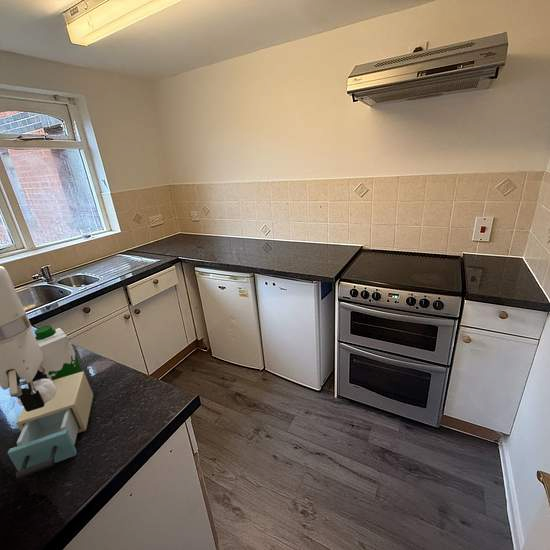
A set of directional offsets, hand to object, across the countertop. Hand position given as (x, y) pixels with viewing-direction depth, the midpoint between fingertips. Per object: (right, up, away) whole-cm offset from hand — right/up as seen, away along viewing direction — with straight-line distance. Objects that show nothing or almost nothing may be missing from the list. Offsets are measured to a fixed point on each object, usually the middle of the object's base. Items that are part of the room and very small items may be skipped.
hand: (39, 398), depth 65 cm
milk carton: (-11, -7, +25) cm, 28 cm away
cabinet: (-4, -11, +13) cm, 18 cm away
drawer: (0, -14, +3) cm, 14 cm away
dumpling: (0, -1, 0) cm, 1 cm away
